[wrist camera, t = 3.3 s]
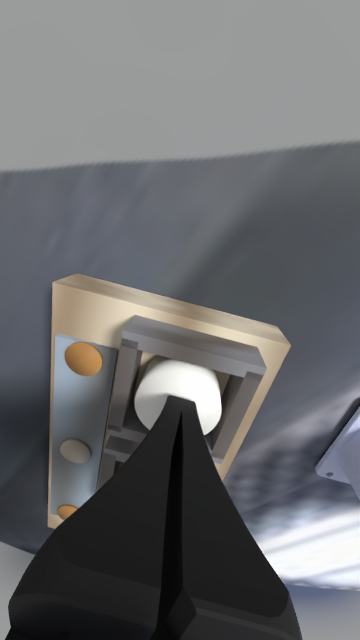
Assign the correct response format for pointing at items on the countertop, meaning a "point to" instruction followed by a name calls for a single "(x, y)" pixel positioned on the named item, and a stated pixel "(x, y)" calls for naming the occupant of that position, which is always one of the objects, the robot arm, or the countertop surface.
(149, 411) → the button
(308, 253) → the countertop surface
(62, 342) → the button board
